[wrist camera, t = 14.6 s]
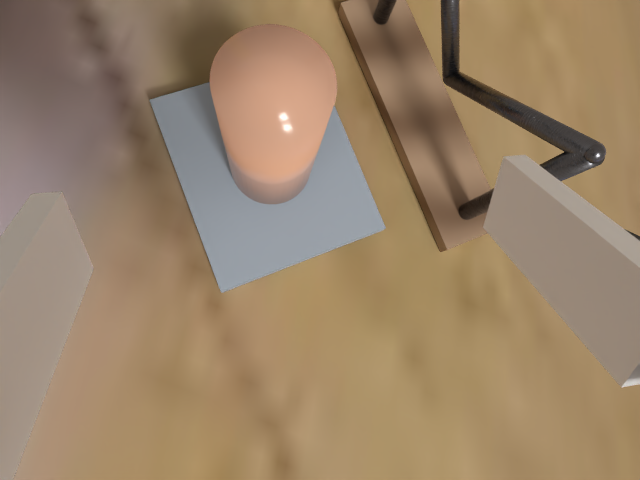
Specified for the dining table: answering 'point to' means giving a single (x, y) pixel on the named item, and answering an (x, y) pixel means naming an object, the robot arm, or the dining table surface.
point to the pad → (257, 218)
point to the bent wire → (506, 110)
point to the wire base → (418, 118)
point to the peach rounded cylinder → (272, 108)
